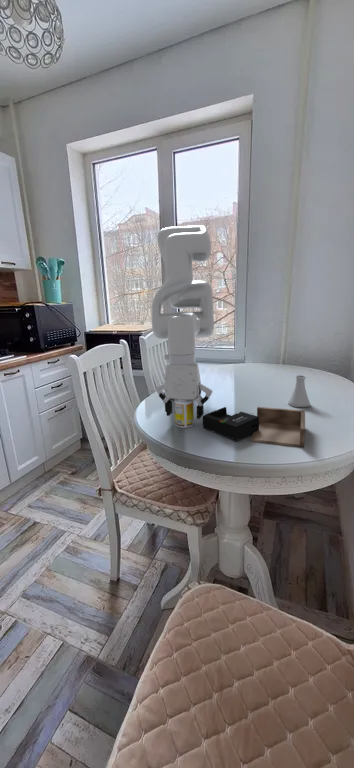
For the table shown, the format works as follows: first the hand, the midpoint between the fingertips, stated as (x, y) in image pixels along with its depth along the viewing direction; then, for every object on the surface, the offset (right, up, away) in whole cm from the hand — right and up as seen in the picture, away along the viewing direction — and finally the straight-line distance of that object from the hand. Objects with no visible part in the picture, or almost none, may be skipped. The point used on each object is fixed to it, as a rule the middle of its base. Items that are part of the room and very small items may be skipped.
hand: (184, 415), depth 95 cm
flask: (+40, +2, +14) cm, 42 cm away
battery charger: (+13, -4, -4) cm, 14 cm away
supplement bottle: (0, -3, +1) cm, 3 cm away
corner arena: (+26, -4, -8) cm, 27 cm away
